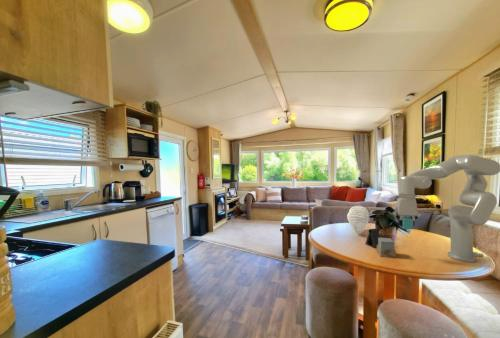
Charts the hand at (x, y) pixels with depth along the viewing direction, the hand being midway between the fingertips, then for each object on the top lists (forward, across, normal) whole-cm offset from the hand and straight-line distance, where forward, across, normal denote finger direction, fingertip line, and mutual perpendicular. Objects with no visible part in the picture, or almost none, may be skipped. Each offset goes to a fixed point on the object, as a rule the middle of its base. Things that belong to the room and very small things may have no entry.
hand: (406, 226), depth 128 cm
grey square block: (+20, +10, -3) cm, 23 cm away
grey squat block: (+15, +10, -3) cm, 18 cm away
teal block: (+1, 0, 0) cm, 1 cm away
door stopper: (+20, +12, -18) cm, 30 cm away
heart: (+20, +17, -44) cm, 51 cm away
